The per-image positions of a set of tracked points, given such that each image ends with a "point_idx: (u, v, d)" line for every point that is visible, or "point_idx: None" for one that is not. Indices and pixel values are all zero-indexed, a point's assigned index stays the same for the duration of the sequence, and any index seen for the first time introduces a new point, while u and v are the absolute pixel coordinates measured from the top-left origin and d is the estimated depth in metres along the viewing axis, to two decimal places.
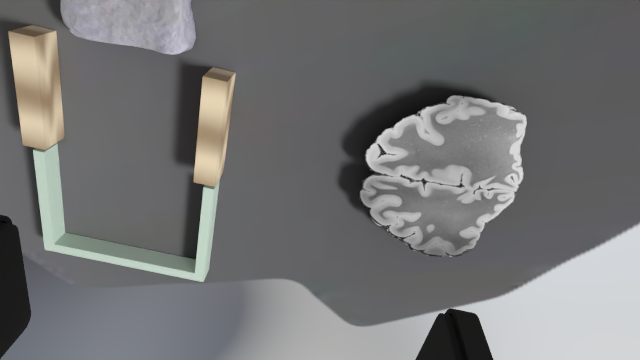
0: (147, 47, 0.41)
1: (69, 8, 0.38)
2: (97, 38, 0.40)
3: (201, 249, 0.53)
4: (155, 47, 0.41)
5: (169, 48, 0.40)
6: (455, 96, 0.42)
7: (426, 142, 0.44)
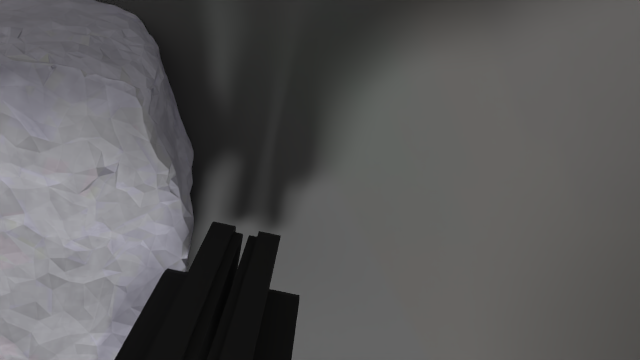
0: None
1: None
2: None
3: None
4: None
5: None
6: None
7: None
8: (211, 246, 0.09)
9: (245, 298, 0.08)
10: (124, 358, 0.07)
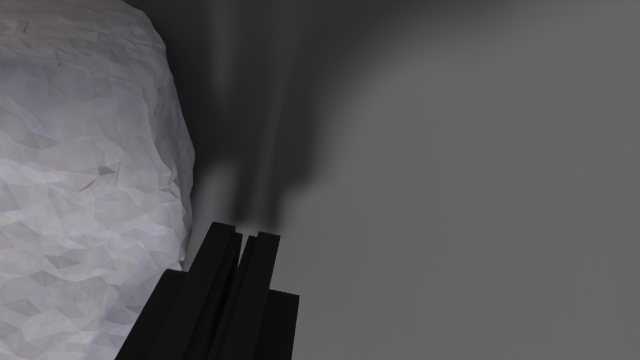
0: None
1: None
2: None
3: None
4: None
5: None
6: None
7: None
8: (211, 246, 0.09)
9: (245, 298, 0.08)
10: (124, 358, 0.07)
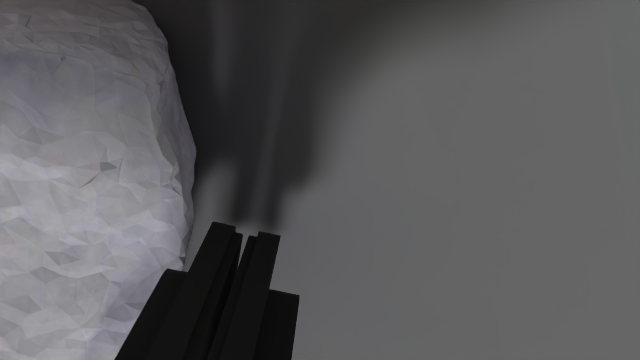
0: None
1: None
2: None
3: None
4: None
5: None
6: None
7: None
8: (211, 246, 0.09)
9: (245, 298, 0.08)
10: (124, 358, 0.07)
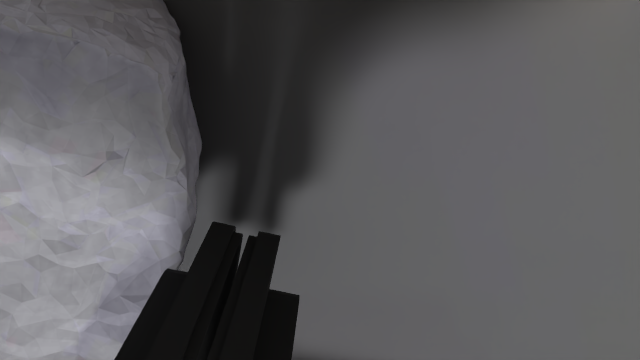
0: None
1: None
2: None
3: None
4: None
5: None
6: None
7: None
8: (211, 246, 0.09)
9: (245, 298, 0.08)
10: (124, 358, 0.07)
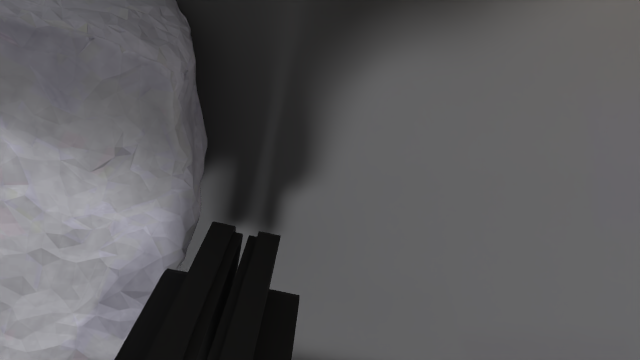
0: None
1: None
2: None
3: None
4: None
5: None
6: None
7: None
8: (211, 246, 0.09)
9: (245, 298, 0.08)
10: (124, 358, 0.07)
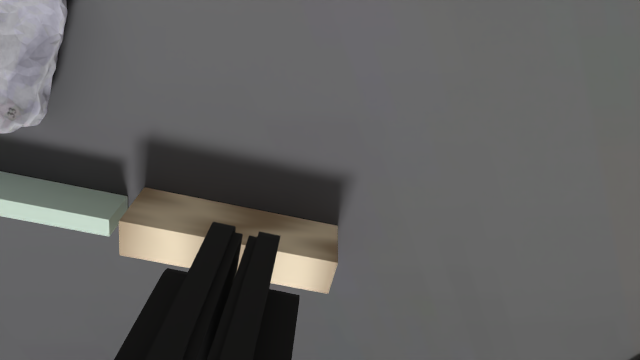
0: None
1: None
2: None
3: None
4: None
5: None
6: None
7: None
8: (211, 246, 0.09)
9: (245, 298, 0.08)
10: (124, 358, 0.07)
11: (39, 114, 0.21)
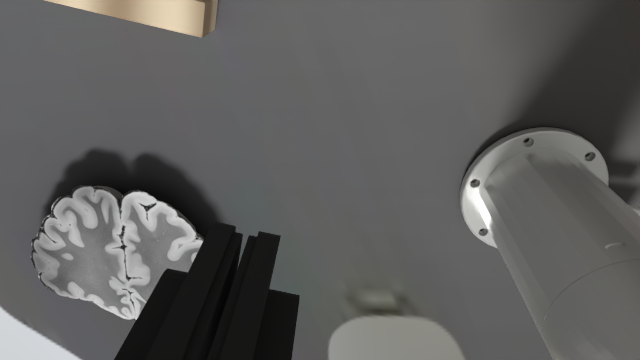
0: None
1: None
2: None
3: None
4: None
5: None
6: None
7: (168, 246, 0.42)
8: (211, 246, 0.09)
9: (245, 298, 0.08)
10: (124, 358, 0.07)
11: None
